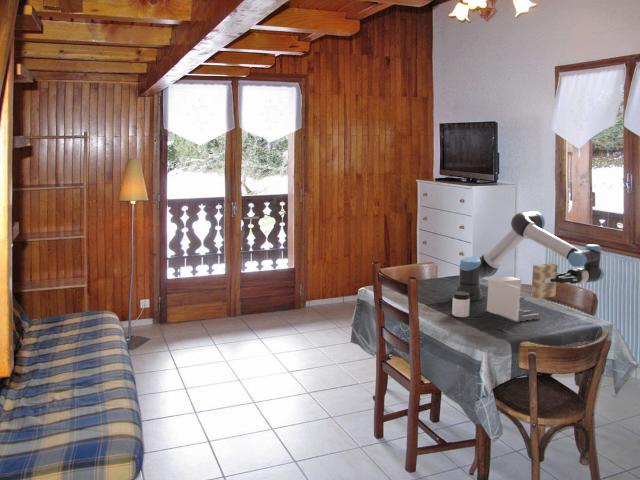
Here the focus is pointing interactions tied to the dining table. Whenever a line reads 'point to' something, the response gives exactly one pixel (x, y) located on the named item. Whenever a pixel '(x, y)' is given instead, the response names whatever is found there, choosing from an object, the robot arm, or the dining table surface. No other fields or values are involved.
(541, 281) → the tan patterned box
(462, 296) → the jar
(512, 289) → the cabinet
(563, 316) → the dining table surface
